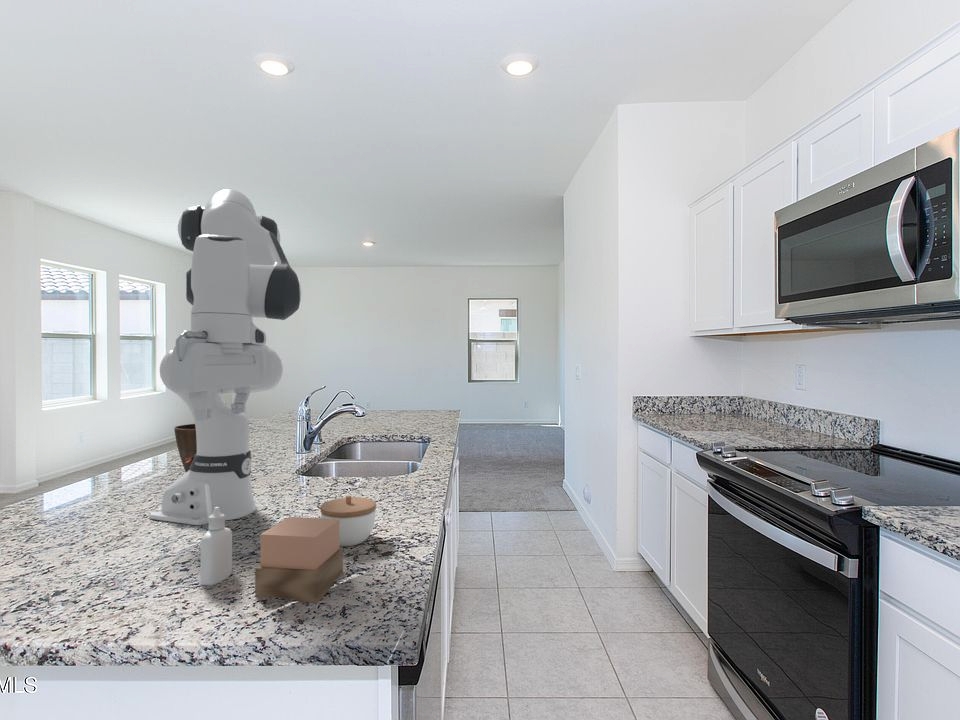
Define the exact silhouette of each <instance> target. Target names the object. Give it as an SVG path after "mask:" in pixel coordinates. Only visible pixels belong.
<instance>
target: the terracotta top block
mask: <svg viewBox="0 0 960 720" xmlns="http://www.w3.org/2000/svg"><path fill="white" fill-rule="evenodd" d="M339 534H340V519H325V518H320V517H306V516H304V517H303V516H302V517H301V516H299V517H298V516H288V517H287V518H285V519H283V520H282V521H280V522H279V523H277V524H274V525H273V526H272V527H270V528H269V529H267V530H265V531H263V532H262V533H261V534H260V537H259V538H260V544H259V545H260V550H259V551H260V559H259V560H260V564H259V565H260V567H274V568H290V569H306V570H316V569H317V568H319V567H320V566H321V565H322V564H323V563H324V562H325V561H326V560H327V559H329V558H330V557H331V556H332V555H333V554H334V553H335V552H336V551H338V550H339V548H340V546H339Z"/></svg>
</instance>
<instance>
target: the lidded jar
mask: <svg viewBox="0 0 960 720" xmlns="http://www.w3.org/2000/svg"><path fill="white" fill-rule="evenodd" d="M376 508H377V502H376V501H375V500H373V499H371V498H367V497H357V496H353V497H352V495H345V497H339V498H335V499H331V500H327V501H325V502H324V503H322V504H321V505H320V517H321V518H325V519H340V534H339V547H353V546H357V545H360V544H362V543H364V542H365V541H366V540H367V539H368V538H369V537H370V536H371V533H372V532H373V529H374V527H375V523H376V522H375V520H376Z"/></svg>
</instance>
